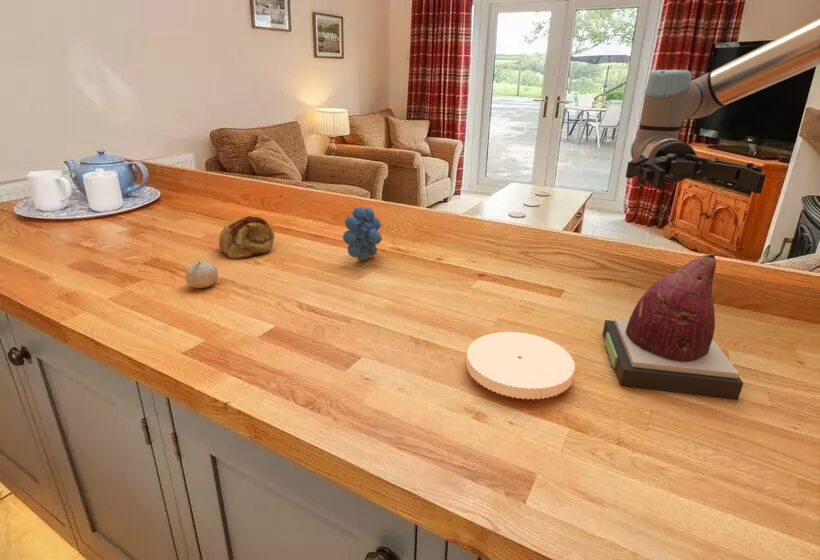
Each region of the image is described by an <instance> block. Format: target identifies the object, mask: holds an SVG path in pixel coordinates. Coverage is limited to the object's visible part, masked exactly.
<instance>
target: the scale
mask: <svg viewBox="0 0 820 560" xmlns="http://www.w3.org/2000/svg"><path fill="white" fill-rule="evenodd" d="M628 322H629V319H628V318H627V319H626V318H615V319H614V320H610V319H605V320H604V324H603V329H602V337H603V340H604V345H605V347H606V348H605V349H606V350H607V354H608V357H609V360H610V362H611V365H612V368H613V369H614V372H615V375H616V377H617V380H618V384H619V386H621V387H630V388H637V389H638V388H639V389H646V390H655V391H664V392H670V393H671V392H673V393H680V394H688V395H689V394H690V395H695V396H696V395H698V396H706V397H712V398H713V397H714V398H722V399H732V400H739V398H740V395H741V392H742V389H743V386H744V382H743V381H742V379H741V377H740V376H739V375H740V372H739V371H738V370H737V369H736V367H735V366H734V364H733V363H732V362H731V361H730V359H729V358H728V357H727V356H726V355H727V354H725V353H724V351H723V350H722V349H721V348H720V346H719V344H718V343H717V342H716V341H715V339H714V338H713V339H712V342H711V345H710V347H709V348H710V349H709V350H708V353H707V354H706V355H704V356H702V357H701V358H699V359H696V360H692V361H688V362H687V361H686V362H684V361H676V360H671V359H667V358H663V357H661V356H658V355H655V354H653V353H651V352H648V351H646V350H644V349H641V348H640V347H639V346H637V345H636V344H635V343H633V342H632V341H631V340H630V338H629V337H628V336H627V334H626V328H627V325H628Z"/></svg>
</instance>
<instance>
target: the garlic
mask: <svg viewBox="0 0 820 560" xmlns="http://www.w3.org/2000/svg"><path fill="white" fill-rule="evenodd" d="M218 277H219V270H218V268H217V266H216V265H215V264H213V263H211V262H208V261H200V260H196V261H195V262H193V263H191V264H190V265H189V266H188V267H187V268H186V272H185V282H186V283H187V285H188V287H191V288H194V289H205V288H206V289H207V288H209V287H211V286H212V285H214V284H215V283H216V282H218Z"/></svg>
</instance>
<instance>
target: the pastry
mask: <svg viewBox="0 0 820 560" xmlns="http://www.w3.org/2000/svg"><path fill="white" fill-rule="evenodd" d="M221 230H222V231H220V233H219V237H218V246H219V250H220V251H221V252H222V253H223V254H225V255H226V257H228V258H229V259H234V260H238V259H247V258H251V257H253V256H255V255H261V254H266V253H268V252H271V250H272V247H273V244H274V239H275V232H274V230H273V228H272V227H271V225H270V224H269V223H268V221H267V220H266V219H264V218H262V217H260V216H251V215H248V216H241V217H238V218H234V219H232V220H230V221H228V222H227V223H226V224H225V225H224V227H223V228H222V229H221Z"/></svg>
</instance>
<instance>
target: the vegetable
mask: <svg viewBox="0 0 820 560" xmlns="http://www.w3.org/2000/svg"><path fill="white" fill-rule="evenodd" d="M715 256H716V253H715V252H711V253H708V254H704V255H699V256H698V257H696V258H694V259H693V260H691V261H689V262H688V263H686V264H684V265H683V266H681V267H679V268H678V269H676V270H674V271H672V272H670V273H668V274H667V275H665V276H663V277H661V278H660V279H658V280H657V281H656V282H654V283H653V284H652V285H651V286H650V287H649V288H648V289H647V290H646V292H644V293H643V295H642V296H641V297H640V299H639V300H638V301H637V303H636V305H635V307H634V309H633V310H632V312H631V315H630V317H629V319H628V320H629V322H628V325H627V328H626V334H627V336H628V337H629V338H630V340H631V341H632V342H633V343H635V344H636V345H637V346H639V347H640V348H641V349H644V350H646V351H648V352H651V353H653V354H655V355H658V356H661V357H663V358H667V359H671V360H676V361H684V362H686V361H687V362H688V361H692V360H696V359H699V358H701V357H702V356H704V355H706V354H707V353H708V350H709V349H710V348H709V347H710V345H711V342H712V339H714V334H715V328H716V319H715V317H716V316H715V305H714V298H713V282H714V276H715V272H716V267H717V260H716V257H715Z"/></svg>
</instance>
